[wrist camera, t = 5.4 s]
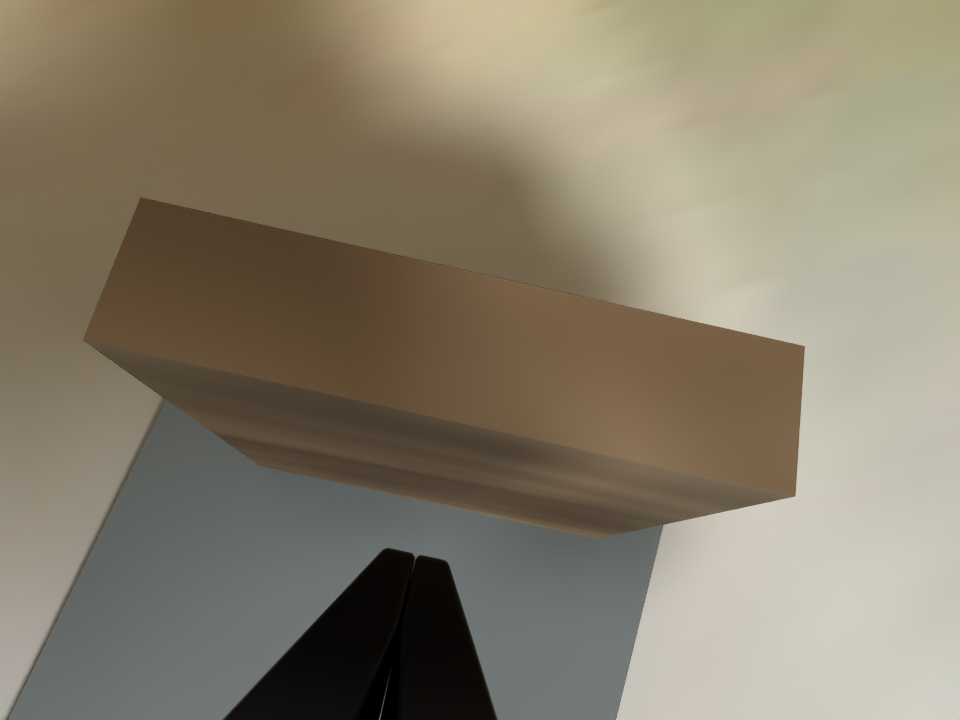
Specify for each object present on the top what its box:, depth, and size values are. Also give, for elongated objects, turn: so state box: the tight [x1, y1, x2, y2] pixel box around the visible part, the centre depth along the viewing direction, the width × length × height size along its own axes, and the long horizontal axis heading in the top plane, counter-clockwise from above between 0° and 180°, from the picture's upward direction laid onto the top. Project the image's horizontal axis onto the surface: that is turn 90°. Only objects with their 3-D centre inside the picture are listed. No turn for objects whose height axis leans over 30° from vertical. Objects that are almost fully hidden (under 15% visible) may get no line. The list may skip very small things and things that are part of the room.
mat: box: [8, 400, 663, 720], centre depth 15 cm, size 13×12×1 cm
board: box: [83, 198, 805, 539], centre depth 12 cm, size 2×8×9 cm, turn 78°
